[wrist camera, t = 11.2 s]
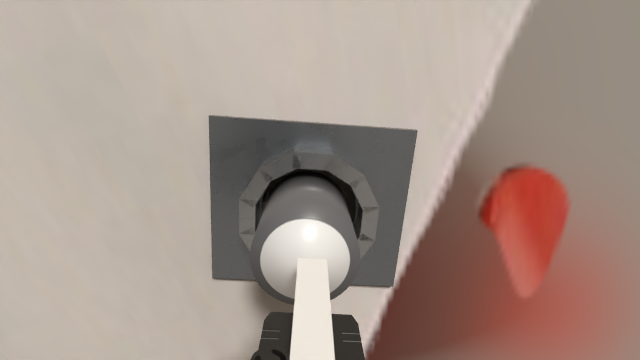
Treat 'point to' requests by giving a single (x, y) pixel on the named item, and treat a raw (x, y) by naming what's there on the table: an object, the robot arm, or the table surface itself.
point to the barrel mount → (308, 155)
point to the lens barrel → (304, 235)
